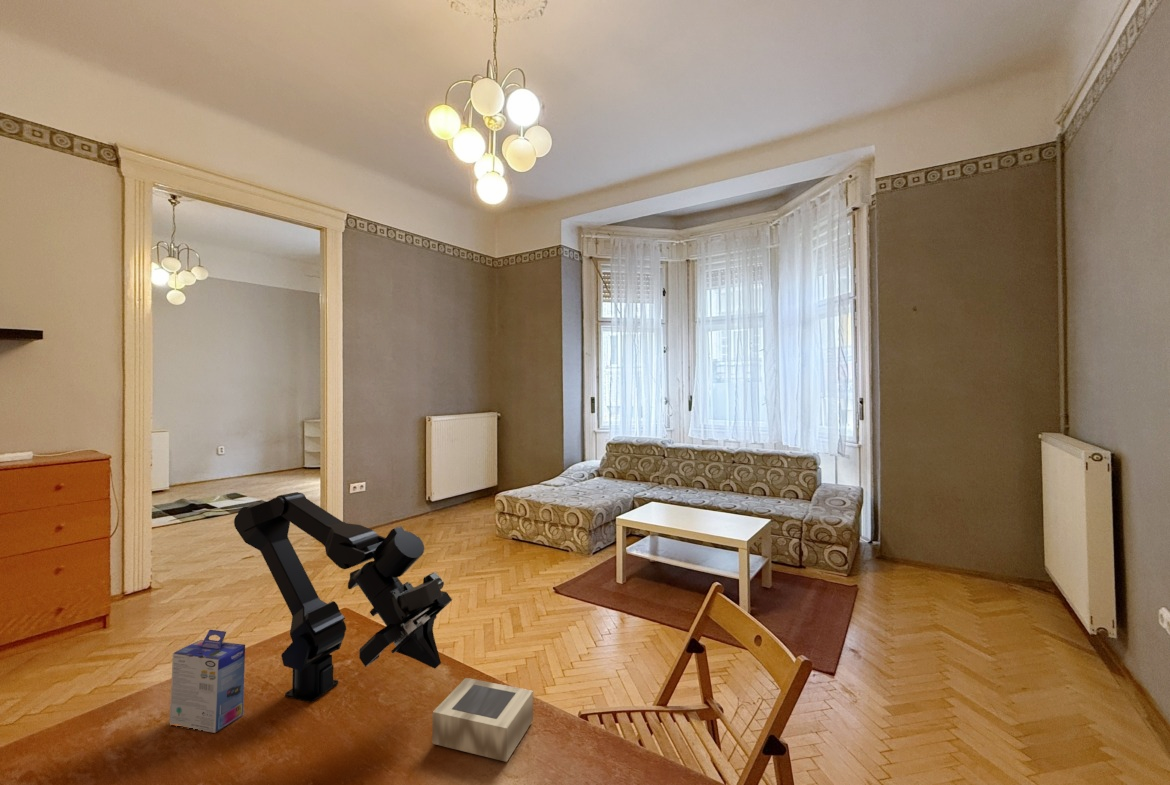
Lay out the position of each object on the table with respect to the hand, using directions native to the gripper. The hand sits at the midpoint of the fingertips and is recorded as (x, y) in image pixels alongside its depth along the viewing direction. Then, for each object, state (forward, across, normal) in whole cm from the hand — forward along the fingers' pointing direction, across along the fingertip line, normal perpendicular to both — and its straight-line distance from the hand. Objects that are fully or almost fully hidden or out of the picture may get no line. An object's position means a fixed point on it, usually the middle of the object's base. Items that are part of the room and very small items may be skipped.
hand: (438, 665), depth 83 cm
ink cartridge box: (-19, -11, +34) cm, 41 cm away
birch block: (+7, 0, +3) cm, 7 cm away
